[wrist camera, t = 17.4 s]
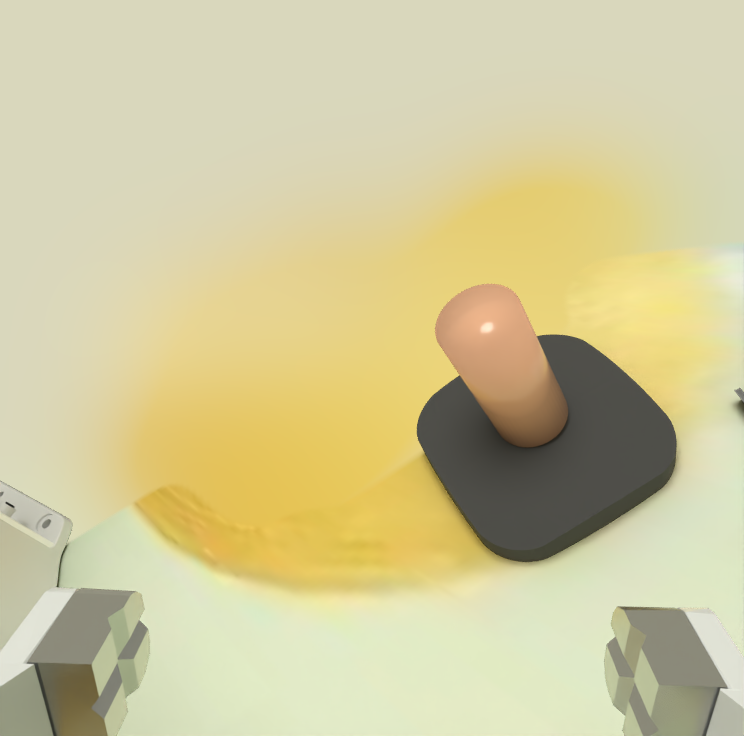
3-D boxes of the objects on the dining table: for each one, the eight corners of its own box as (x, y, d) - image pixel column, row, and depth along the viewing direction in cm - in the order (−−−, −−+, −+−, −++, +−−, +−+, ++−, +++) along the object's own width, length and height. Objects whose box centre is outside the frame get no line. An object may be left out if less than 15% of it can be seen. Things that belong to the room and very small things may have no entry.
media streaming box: (508, 588, 38) (500, 570, 36) (407, 430, 48) (396, 409, 46) (703, 468, 39) (707, 443, 37) (563, 337, 49) (559, 311, 47)
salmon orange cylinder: (482, 410, 44) (421, 319, 36) (541, 370, 43) (492, 269, 35) (519, 461, 40) (460, 374, 32) (583, 418, 40) (540, 319, 32)
